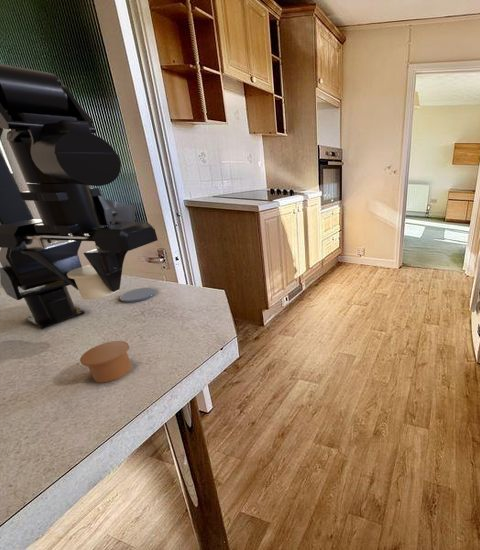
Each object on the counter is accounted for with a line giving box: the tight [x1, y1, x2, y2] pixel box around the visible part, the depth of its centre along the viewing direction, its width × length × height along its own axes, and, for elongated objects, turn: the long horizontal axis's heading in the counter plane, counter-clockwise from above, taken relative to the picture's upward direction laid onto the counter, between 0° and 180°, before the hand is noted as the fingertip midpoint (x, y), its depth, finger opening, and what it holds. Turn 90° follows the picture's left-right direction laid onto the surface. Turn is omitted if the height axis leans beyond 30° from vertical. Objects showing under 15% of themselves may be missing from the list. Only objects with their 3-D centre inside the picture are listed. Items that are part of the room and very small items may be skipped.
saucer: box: [119, 287, 156, 303], centre depth 66 cm, size 6×6×1 cm
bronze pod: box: [79, 340, 133, 384], centre depth 43 cm, size 5×5×4 cm
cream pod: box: [67, 264, 119, 300], centre depth 43 cm, size 5×5×4 cm
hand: (99, 289), depth 44 cm, fingers closed on cream pod, 5 cm apart
